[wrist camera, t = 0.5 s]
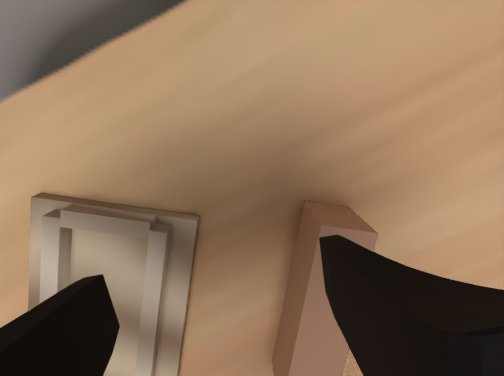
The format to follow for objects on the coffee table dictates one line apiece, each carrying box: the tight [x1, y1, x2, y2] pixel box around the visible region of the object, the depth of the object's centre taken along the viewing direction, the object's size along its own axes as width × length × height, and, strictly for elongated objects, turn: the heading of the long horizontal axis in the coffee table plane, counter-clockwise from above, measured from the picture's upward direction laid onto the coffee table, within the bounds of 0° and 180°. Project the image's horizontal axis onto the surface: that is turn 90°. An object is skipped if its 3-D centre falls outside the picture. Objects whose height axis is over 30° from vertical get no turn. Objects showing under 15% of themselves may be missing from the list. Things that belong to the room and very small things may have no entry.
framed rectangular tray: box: [28, 193, 199, 376], centre depth 22 cm, size 16×10×2 cm, turn 171°
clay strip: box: [272, 201, 378, 376], centre depth 21 cm, size 12×3×5 cm, turn 171°
